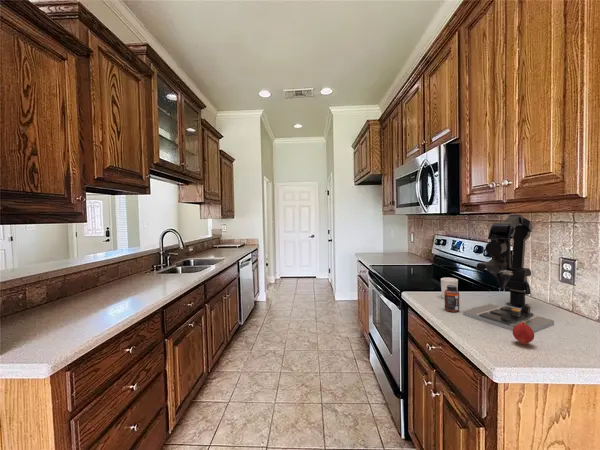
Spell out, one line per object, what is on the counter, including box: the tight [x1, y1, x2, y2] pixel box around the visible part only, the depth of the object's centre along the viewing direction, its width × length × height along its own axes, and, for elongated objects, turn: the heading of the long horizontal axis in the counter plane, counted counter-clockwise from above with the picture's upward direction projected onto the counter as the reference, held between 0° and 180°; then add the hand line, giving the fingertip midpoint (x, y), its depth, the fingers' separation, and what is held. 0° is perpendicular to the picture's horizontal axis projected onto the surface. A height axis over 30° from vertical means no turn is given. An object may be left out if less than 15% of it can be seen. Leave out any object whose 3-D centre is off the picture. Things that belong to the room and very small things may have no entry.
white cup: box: [440, 277, 459, 300], centre depth 147 cm, size 8×8×10 cm
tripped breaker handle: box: [511, 307, 521, 317], centre depth 115 cm, size 2×2×3 cm
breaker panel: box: [462, 303, 555, 333], centre depth 118 cm, size 20×24×5 cm
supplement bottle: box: [444, 285, 460, 313], centre depth 130 cm, size 6×6×11 cm
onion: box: [512, 321, 535, 346], centre depth 96 cm, size 6×6×8 cm
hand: (502, 289), depth 121 cm, fingers closed
